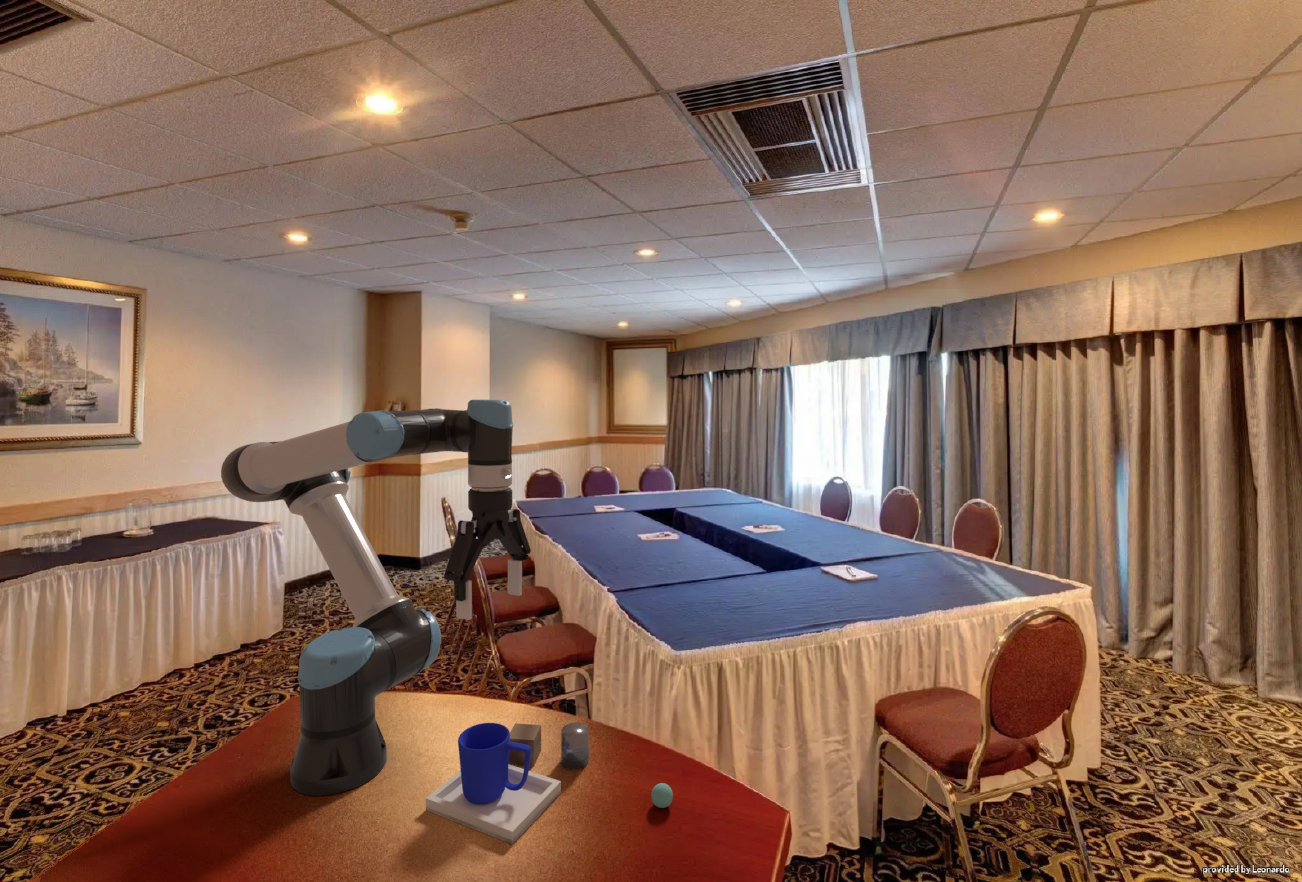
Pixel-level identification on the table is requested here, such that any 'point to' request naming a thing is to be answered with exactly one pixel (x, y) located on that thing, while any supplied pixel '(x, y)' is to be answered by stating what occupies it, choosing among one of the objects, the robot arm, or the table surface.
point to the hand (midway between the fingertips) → (490, 605)
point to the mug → (488, 762)
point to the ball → (662, 795)
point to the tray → (497, 805)
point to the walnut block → (527, 736)
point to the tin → (575, 746)
